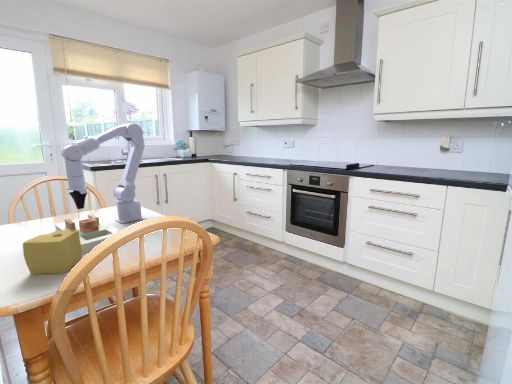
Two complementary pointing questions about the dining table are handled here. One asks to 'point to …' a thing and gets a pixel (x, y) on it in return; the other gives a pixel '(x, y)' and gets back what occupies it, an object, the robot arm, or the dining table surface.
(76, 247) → the cheese
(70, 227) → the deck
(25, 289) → the dining table surface
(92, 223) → the block
